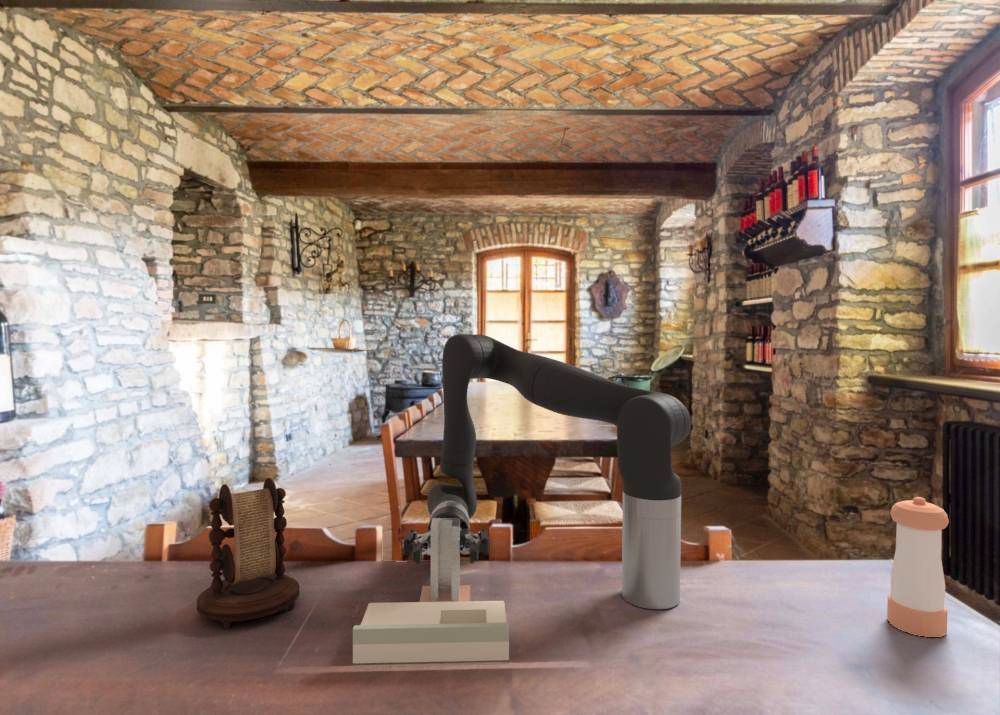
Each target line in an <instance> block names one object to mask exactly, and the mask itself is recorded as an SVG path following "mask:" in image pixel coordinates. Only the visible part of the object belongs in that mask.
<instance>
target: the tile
mask: <svg viewBox="0 0 1000 715" xmlns="http://www.w3.org/2000/svg"><path fill="white" fill-rule="evenodd" d="M420 593H421V594H420V597H419V602H431V585H422V588H421V592H420ZM451 598H452V593H439V599H438V602H451ZM459 601H471V584H466V585H465V584H463V585H462V584H460V593H459Z"/></svg>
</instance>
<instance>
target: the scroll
mask: <svg viewBox="0 0 1000 715" xmlns="http://www.w3.org/2000/svg"><path fill="white" fill-rule="evenodd" d="M286 496H287V493H286V490H285V489H284V488H283V487H278V488H277V485H276V484H275V481H274V479H272V477H266V479H265V480H264V482H263V486H262V488H260V489H253V490H249V491H247V490H246V491H243V492H241V491H240V492H236V493H231V490H230V487H229V485H227V484H226V483H224V484H222V485H221V486H220V489H219V494H218V497H214V498H212V499H211V500H210V502H209V504H208V507H209V510H211V512H210V515H211V516H212V519H211V522H210V527H211V530H210V531H209V532H208V540H209V543H210V545H211V546H212V549H211V554H210V556H211V558H212V560H211V561H210V563H209V569H210V571H211V572H212V573H211V574H210V575H211V577H212V578H213V579H212V582H211V584H210V586H208V587H207V588H206V589H205V590H203V591H202V592H201V593H200V594H199V595H198V597H197V599H196V612H197V613H198V615H200V616H201V617H202V618H204V619H207V620H212V621H217V622H222V623H223V624H222V625H223V627H224V629H225V630H229V629H230V627H231V625H232V622H240V621H241V622H242V621H250V620H255V619H258V618H263V617H267V616H271V615H273V614H275V613H278V612H281V611H282V610H284V609H285V610H286V608H288V609H289V610H290V611H292V610H294V608H295V605H296V601H297V600H298V598H299V596H300V588H301V587H300V583H299V582H298V580H296V579H295V578H294V577H291V576H289V575H287V574H285V572H286V567H285V564H284V561H285V559H286V558H285V557H284V556H285V555H286V554H287V548H286V546H285V545H284V544H285V542H286V540H285V536H284V533H283V532H285V529H286V527H287V526H288V524H287V523H288V520H287V518H286V517H285V516H284V515H285V513H286V512H285V508H284V504H285V500H284V499H285V497H286ZM220 515H221V516H220ZM222 520H223V521H224V522H226V523H227V524H228V526H229V527H230V528H228V529H226V531H225V530H224V529H223V528H221V527H222V526H223V522H222ZM231 526H233V527H232V528H231ZM275 533H276V534H275ZM226 538H227V539H233V538H234V555H233V552H232V549H231V547H230V545H229V544H227V543H224V545H223V541H224V540H225V539H226ZM221 545H223V546H222V547H221ZM221 576H223V578H224V579H222V578H221Z"/></svg>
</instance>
